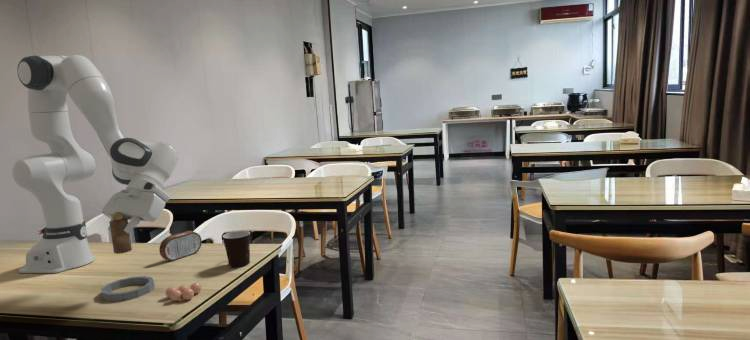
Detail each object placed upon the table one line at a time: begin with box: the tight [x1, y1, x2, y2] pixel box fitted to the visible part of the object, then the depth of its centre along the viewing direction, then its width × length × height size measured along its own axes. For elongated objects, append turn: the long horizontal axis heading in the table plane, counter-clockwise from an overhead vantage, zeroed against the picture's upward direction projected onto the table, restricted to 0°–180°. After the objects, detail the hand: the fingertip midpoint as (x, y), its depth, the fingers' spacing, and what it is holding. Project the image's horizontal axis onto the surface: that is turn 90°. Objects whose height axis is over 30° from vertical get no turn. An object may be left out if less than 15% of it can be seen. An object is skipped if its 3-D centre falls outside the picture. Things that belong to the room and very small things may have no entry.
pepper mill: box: [108, 212, 133, 255], centre depth 139 cm, size 5×5×12 cm
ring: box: [101, 275, 155, 302], centre depth 141 cm, size 13×13×2 cm
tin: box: [159, 230, 202, 261], centre depth 170 cm, size 15×3×8 cm, turn 144°
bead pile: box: [165, 282, 202, 302], centre depth 134 cm, size 9×7×3 cm
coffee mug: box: [222, 230, 251, 269], centre depth 160 cm, size 12×9×10 cm
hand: (118, 231), depth 138 cm, fingers closed on pepper mill, 5 cm apart
